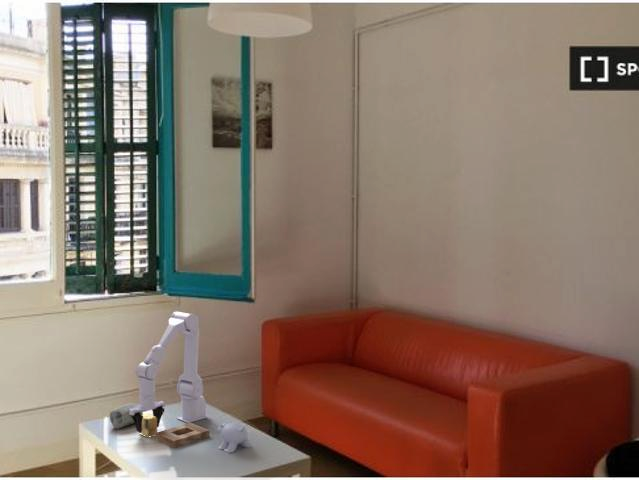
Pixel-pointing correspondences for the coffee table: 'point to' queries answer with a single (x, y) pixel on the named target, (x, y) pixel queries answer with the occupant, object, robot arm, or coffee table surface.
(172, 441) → the slot board
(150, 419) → the key peg
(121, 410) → the grey cylinder
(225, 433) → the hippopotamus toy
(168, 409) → the coffee table surface
